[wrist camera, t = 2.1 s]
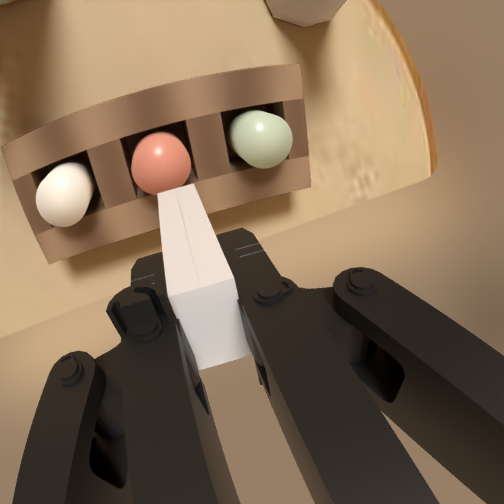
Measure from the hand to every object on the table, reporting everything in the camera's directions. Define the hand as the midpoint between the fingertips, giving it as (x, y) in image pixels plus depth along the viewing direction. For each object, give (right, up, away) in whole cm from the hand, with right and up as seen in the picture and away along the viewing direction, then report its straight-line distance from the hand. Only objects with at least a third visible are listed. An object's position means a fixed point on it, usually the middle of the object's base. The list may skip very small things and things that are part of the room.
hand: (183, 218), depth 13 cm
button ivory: (-11, +4, +8) cm, 14 cm away
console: (-5, +7, +11) cm, 14 cm away
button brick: (-4, +6, +9) cm, 11 cm away
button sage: (+3, +8, +10) cm, 13 cm away
